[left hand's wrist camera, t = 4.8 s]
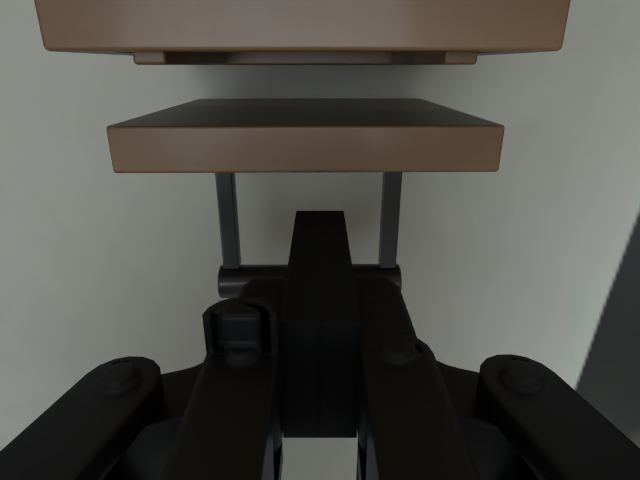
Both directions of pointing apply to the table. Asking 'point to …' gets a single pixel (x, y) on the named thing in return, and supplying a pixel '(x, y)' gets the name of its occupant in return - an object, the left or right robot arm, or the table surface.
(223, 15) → the cabinet
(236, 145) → the drawer
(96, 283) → the table surface
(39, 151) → the table surface
